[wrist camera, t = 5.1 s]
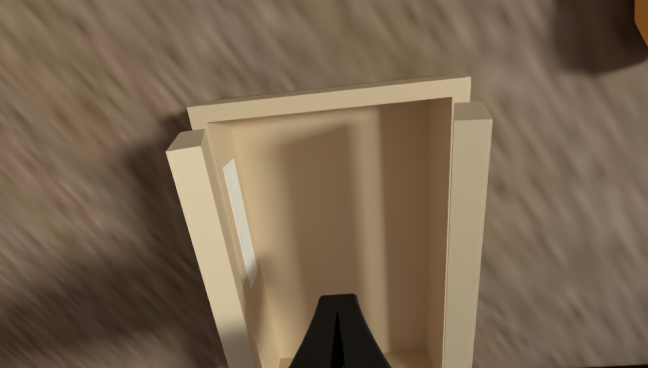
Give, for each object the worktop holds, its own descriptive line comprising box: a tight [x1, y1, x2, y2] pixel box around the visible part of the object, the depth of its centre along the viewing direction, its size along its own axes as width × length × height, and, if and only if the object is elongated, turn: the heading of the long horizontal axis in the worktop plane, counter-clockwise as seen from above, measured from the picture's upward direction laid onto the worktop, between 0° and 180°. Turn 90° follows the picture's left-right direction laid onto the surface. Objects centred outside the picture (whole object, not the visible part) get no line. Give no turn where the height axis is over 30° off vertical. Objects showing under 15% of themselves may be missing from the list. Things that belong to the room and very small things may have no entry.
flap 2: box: [443, 101, 493, 368], centre depth 11 cm, size 3×15×1 cm
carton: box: [187, 75, 471, 368], centre depth 15 cm, size 10×16×3 cm, turn 6°
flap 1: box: [166, 129, 262, 368], centre depth 11 cm, size 3×15×1 cm
